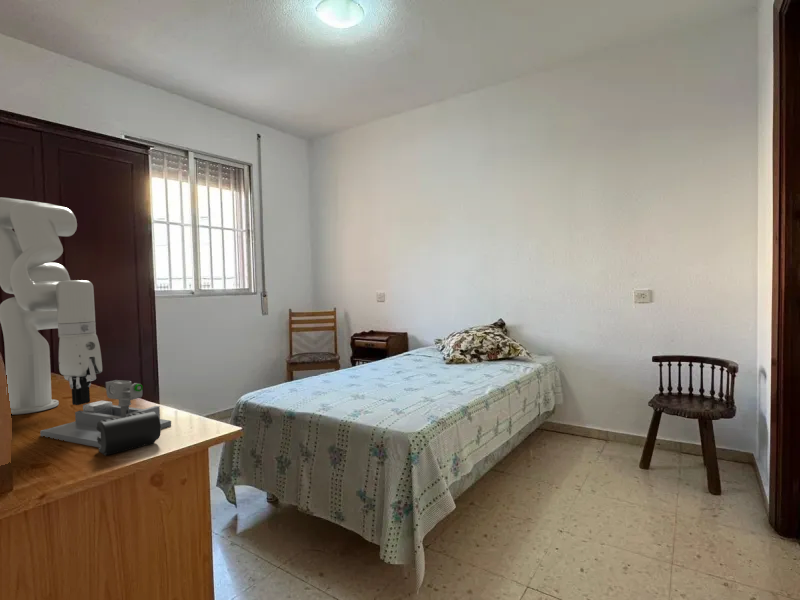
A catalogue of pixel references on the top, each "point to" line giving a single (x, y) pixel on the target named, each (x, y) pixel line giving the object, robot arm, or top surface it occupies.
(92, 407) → the grey matte cube
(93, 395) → the top surface
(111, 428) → the end cap
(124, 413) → the mechanical component
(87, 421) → the grey railed base plate
